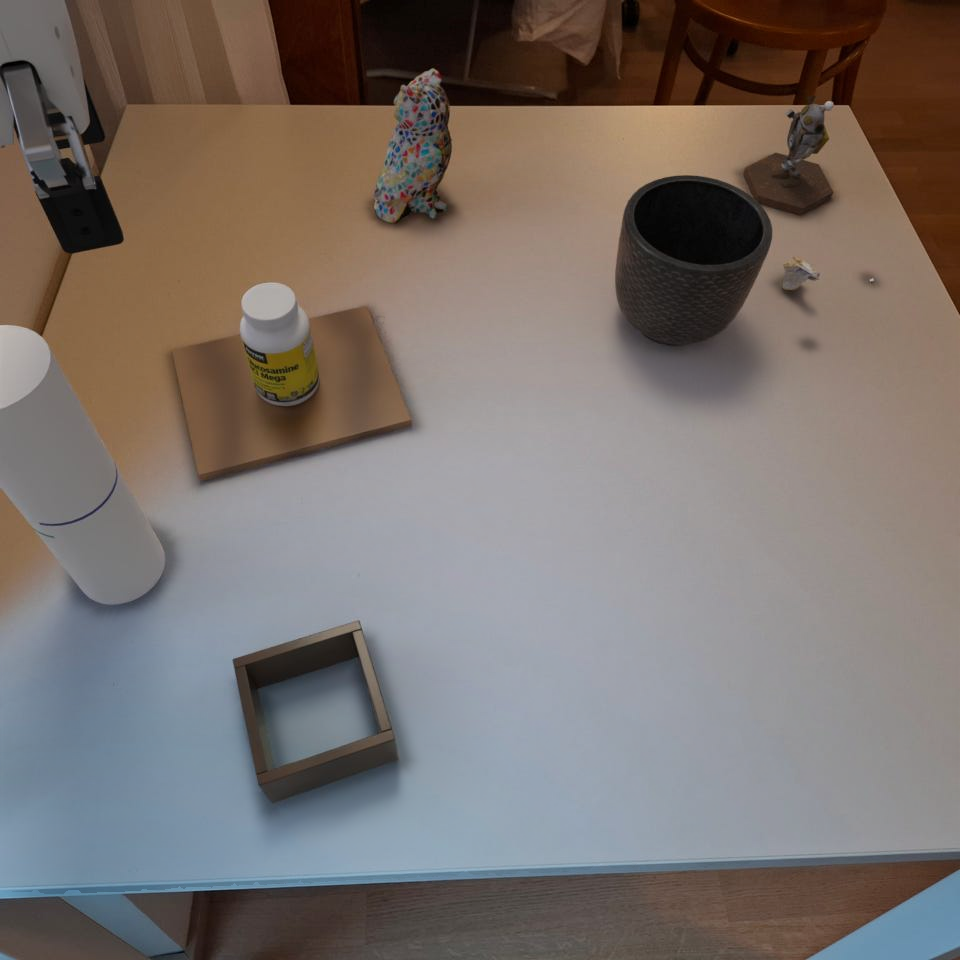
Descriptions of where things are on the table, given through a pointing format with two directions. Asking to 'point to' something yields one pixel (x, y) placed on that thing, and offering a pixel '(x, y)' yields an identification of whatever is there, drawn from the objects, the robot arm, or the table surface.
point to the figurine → (416, 151)
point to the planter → (688, 257)
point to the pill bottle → (278, 345)
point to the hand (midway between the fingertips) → (86, 191)
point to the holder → (296, 662)
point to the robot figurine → (794, 165)
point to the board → (288, 429)
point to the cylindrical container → (69, 477)
